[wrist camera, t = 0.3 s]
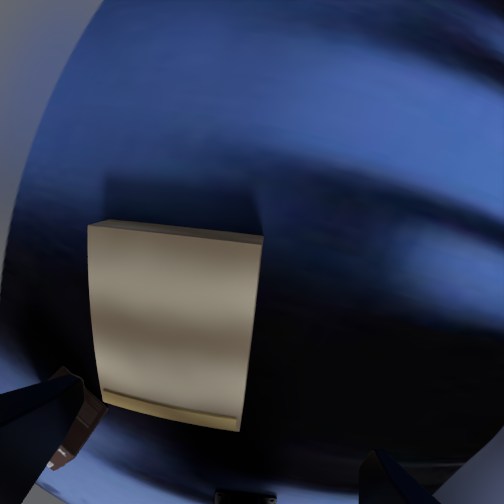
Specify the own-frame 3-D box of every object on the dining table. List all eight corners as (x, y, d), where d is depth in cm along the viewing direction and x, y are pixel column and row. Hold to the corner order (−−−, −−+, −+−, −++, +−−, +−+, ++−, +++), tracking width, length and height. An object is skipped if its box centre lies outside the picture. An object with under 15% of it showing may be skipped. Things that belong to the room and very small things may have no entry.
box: (64, 362, 25) (20, 405, 18) (110, 408, 26) (76, 458, 18) (43, 389, 26) (5, 427, 19) (84, 428, 27) (53, 473, 20)
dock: (243, 407, 24) (238, 433, 21) (117, 382, 25) (102, 402, 22) (263, 235, 21) (261, 245, 18) (109, 219, 22) (86, 225, 18)
